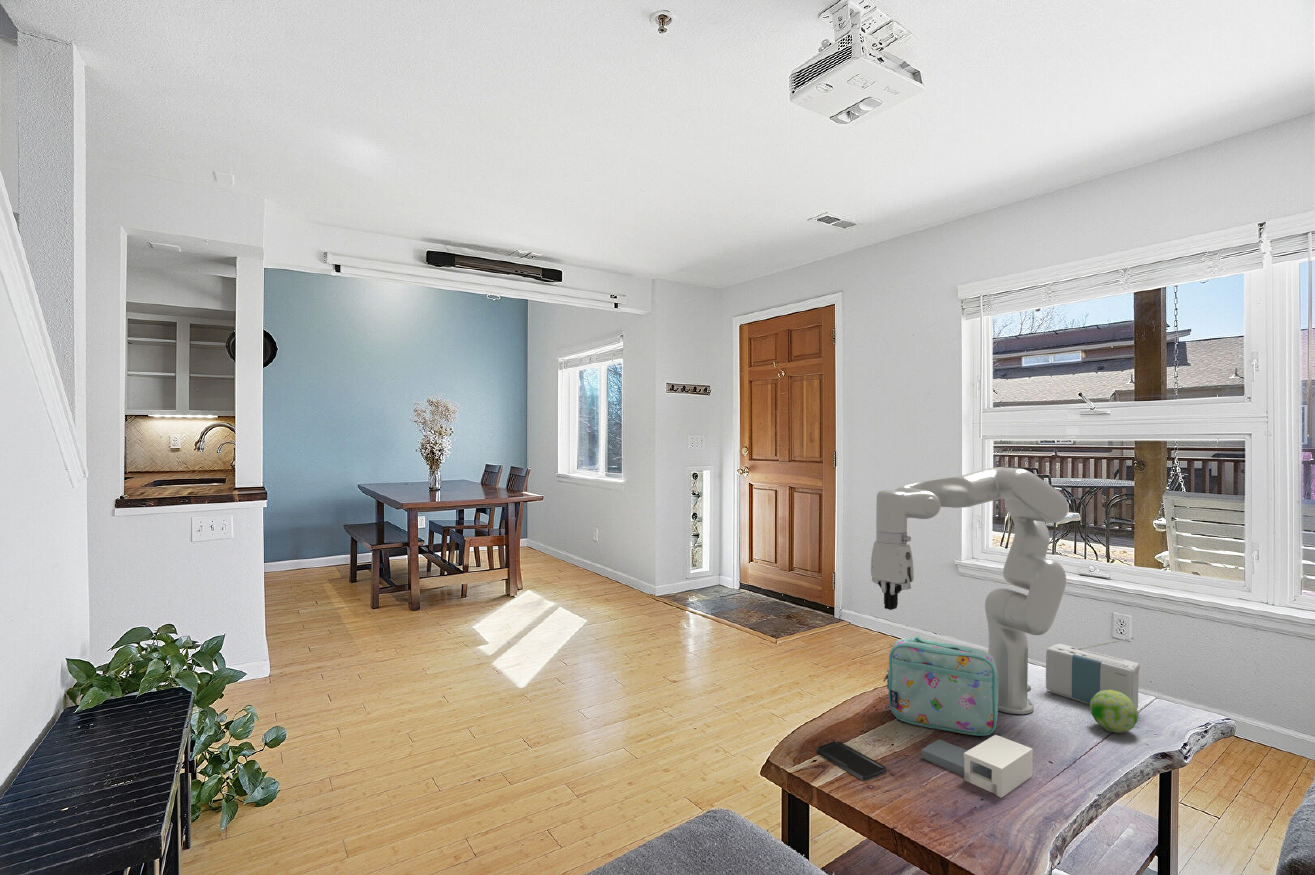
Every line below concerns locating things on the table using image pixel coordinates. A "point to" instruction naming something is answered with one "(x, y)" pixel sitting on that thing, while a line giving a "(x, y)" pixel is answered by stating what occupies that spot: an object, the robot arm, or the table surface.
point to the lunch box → (943, 686)
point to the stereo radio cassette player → (1089, 673)
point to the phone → (851, 760)
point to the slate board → (951, 758)
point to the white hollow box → (999, 764)
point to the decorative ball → (1114, 711)
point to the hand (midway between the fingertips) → (890, 608)
